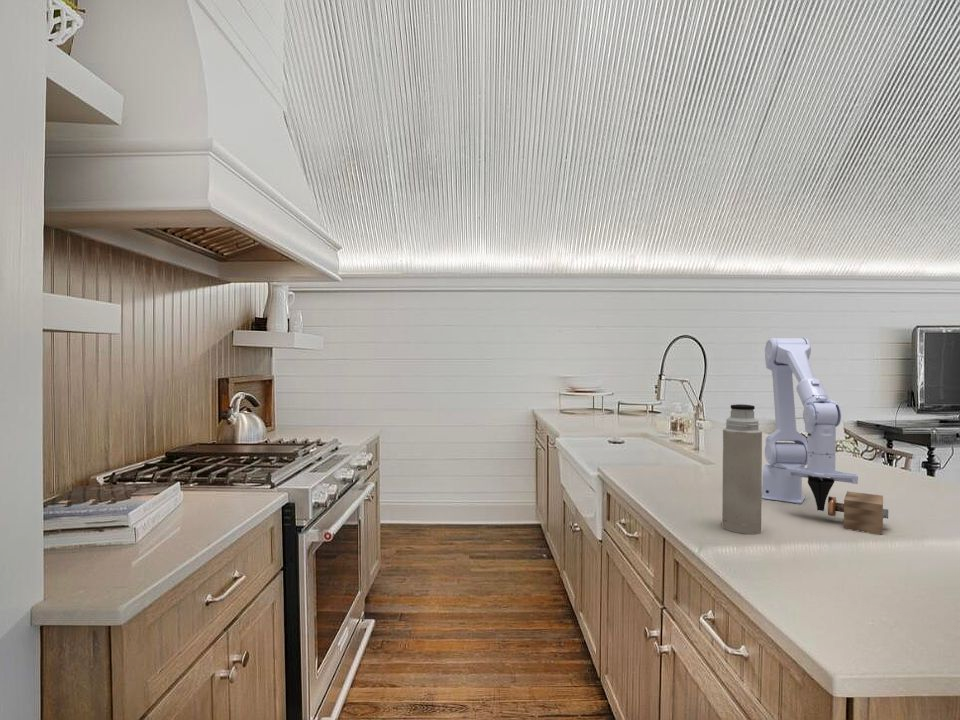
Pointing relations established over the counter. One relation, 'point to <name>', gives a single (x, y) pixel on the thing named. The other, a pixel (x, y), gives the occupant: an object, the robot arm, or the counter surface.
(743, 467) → the thermos bottle
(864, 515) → the bearing block
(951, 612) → the counter surface
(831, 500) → the copper capped shaft
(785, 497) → the robot arm
